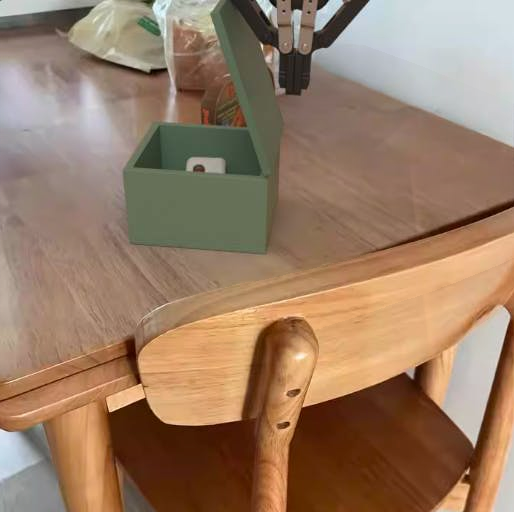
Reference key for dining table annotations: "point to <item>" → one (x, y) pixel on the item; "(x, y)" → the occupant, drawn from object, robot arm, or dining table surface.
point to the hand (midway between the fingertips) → (293, 92)
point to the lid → (250, 81)
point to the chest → (199, 190)
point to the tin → (223, 103)
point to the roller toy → (206, 165)
